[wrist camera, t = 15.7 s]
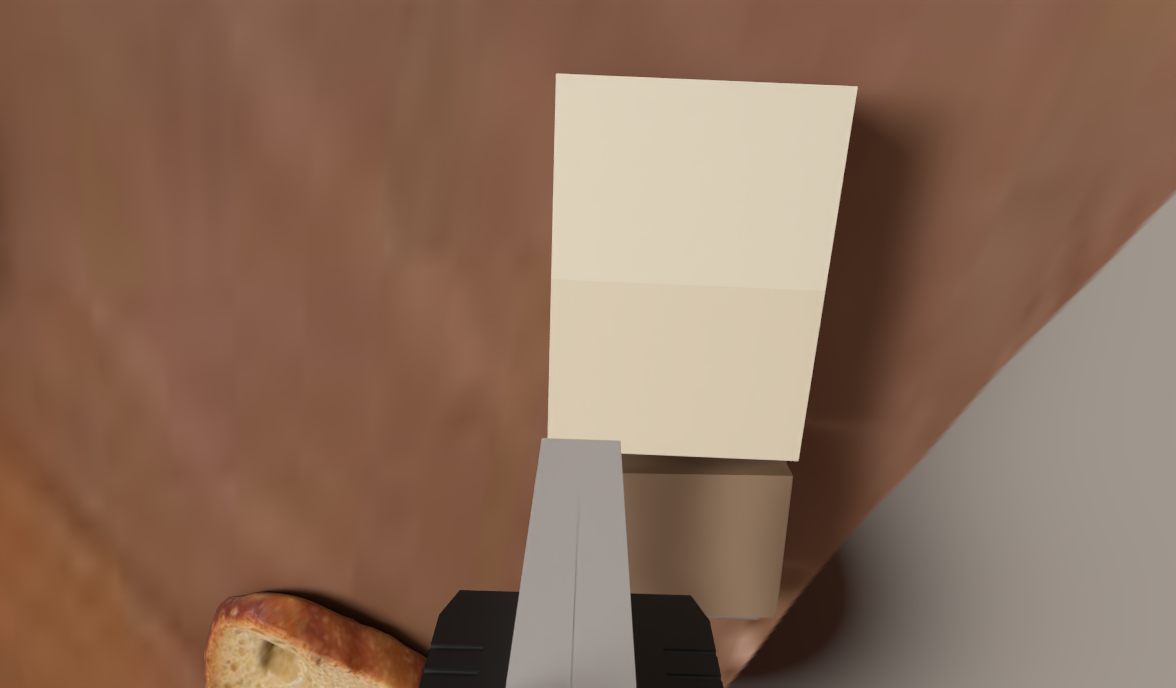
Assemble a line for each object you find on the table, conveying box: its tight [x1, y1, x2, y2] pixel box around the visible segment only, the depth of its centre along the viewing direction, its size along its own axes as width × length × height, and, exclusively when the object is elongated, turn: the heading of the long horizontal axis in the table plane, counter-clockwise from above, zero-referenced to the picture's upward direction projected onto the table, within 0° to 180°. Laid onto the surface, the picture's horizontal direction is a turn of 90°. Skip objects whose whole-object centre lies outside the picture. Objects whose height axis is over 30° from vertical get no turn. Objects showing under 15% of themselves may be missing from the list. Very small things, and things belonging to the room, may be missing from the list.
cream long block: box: [548, 74, 858, 619], centre depth 29 cm, size 10×24×5 cm, turn 178°
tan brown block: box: [621, 454, 793, 618], centre depth 31 cm, size 10×7×4 cm
